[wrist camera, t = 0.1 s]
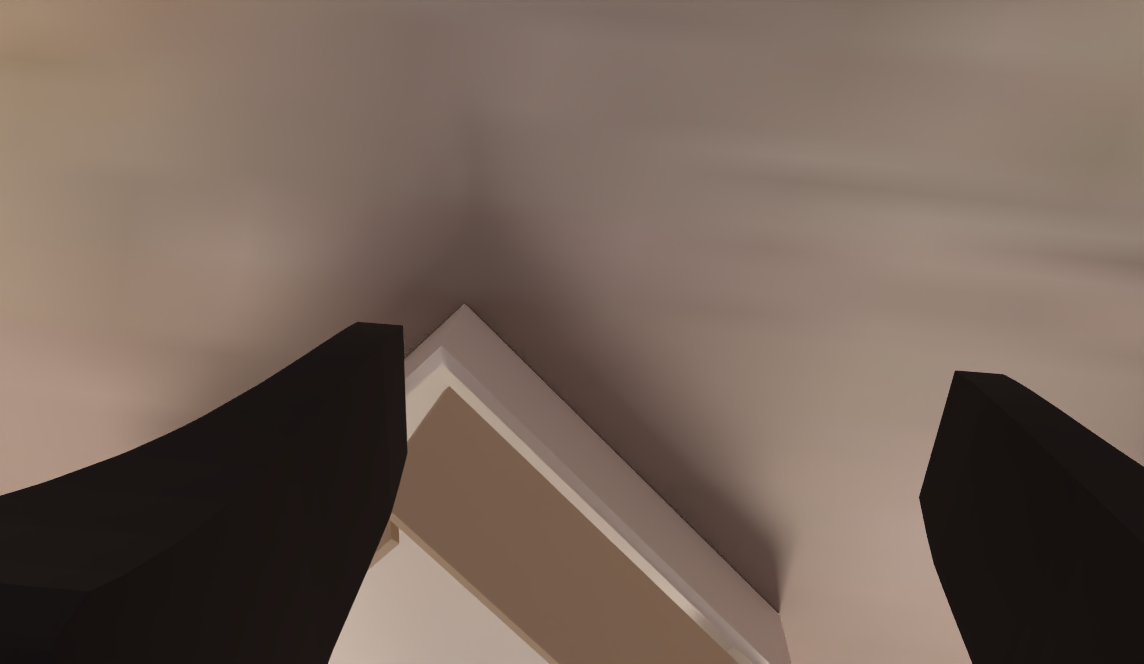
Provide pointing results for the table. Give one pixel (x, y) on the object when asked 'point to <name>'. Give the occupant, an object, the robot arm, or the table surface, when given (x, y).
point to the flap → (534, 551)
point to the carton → (580, 473)
